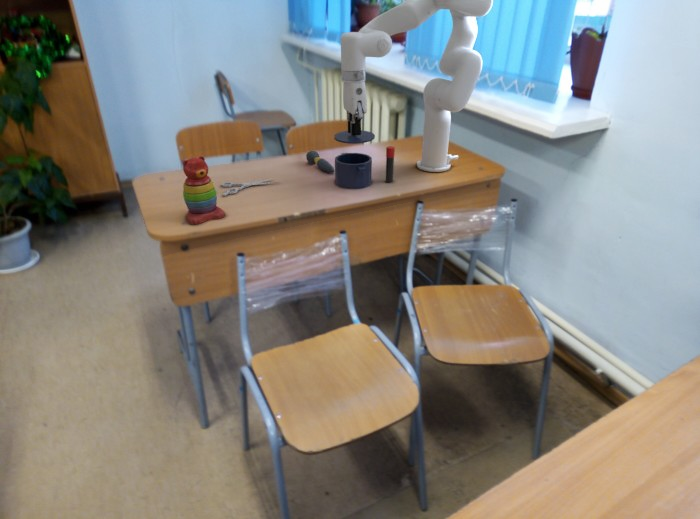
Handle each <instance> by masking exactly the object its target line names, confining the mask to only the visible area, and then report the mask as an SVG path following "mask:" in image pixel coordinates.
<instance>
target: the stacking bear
mask: <svg viewBox="0 0 700 519" xmlns="http://www.w3.org/2000/svg"><path fill="white" fill-rule="evenodd" d="M182 169H183V173H184V175H185V176H186V179H185V180H184V183H183V184H182V185H183V186H182V187H183V189H182V190H183V191H182V196H183V200H184V204H185V205H186V207H187V210H188V211H187V213H186V220H187V222H188V223H189V224H191V225H200V224H203V223H204V222H206V221H210V220H220V219H223V218H224V217H226V212H225V211H224V209H222V208H221V207H219V206H217V204H218V203H217V202H218V201H217V200H218V199H217V198H218V196H217V194H218V193H217V189H216V187H215V185H214V182H213V181H212V178H211V177H210V176H209V175H208V174H209V165H208V164H207V162H206V161H205V157H204V156H202V155H201V156H198V157H189V158H187V159H184V160H183V161H182Z"/></svg>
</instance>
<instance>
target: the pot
mask: <svg viewBox="0 0 700 519" xmlns="http://www.w3.org/2000/svg"><path fill="white" fill-rule="evenodd" d="M372 163H373V159H372V157H371V156H370V155H368V154H365V153H362V152H361V153H360V152H341V154H338V155H336V156H335V157H334V183H335V185H336V186H338V187H340V188H343V189H349V190H351V189H352V190H353V189H354V190H356V189H363V188H367V187H369V186H370V185H371V184H372V174H373V173H372V170H373V169H372V167H373V166H372V165H373V164H372Z"/></svg>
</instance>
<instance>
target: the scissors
mask: <svg viewBox="0 0 700 519" xmlns="http://www.w3.org/2000/svg"><path fill="white" fill-rule="evenodd" d="M270 180H272V178H269V179H265V180H261V181H260V180H259V181H255V182H245V183H239V182H236V183H234V182H231V181H225V182H222V183H221V187H223V188H229V189H227V190H226V192H224V193H222V197H225V196H228V195H233V194H237V193H238V191H240V190H243V189H244V188H248V187H252V186H257V185H269V184H270V182H268V181H270ZM275 183H278V181H277V182H275V181H274V182H271V184H275ZM235 186H239V187H236V188H234V187H235ZM230 187H233V188H230Z"/></svg>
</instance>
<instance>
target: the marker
mask: <svg viewBox="0 0 700 519" xmlns="http://www.w3.org/2000/svg"><path fill="white" fill-rule="evenodd" d="M385 148H386V150H385V159H386V160H385V183H388V184H391V183H393V182H394V170H395V169H394V168H395V167H394V165H395V152H396V150H395V146H392V145H389V146H386V147H385Z"/></svg>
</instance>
